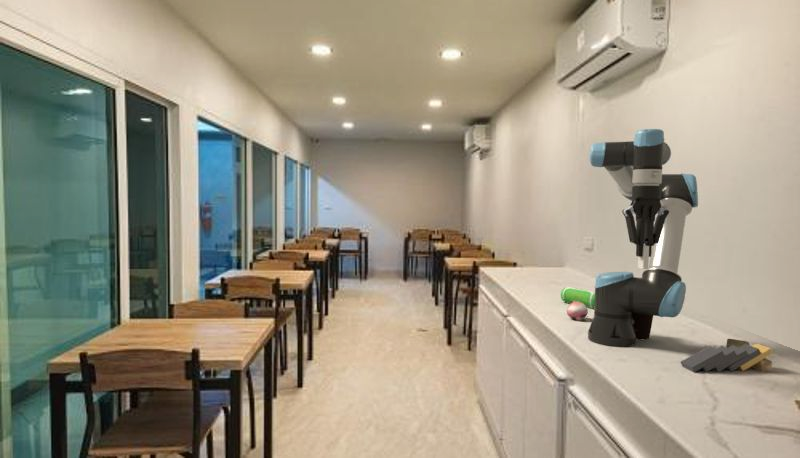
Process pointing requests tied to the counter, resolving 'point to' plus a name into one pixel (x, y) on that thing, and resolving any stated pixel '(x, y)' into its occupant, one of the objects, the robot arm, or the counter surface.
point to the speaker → (578, 296)
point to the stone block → (736, 343)
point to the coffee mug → (642, 325)
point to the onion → (577, 310)
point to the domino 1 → (702, 358)
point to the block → (763, 365)
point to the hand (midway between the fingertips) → (643, 268)
